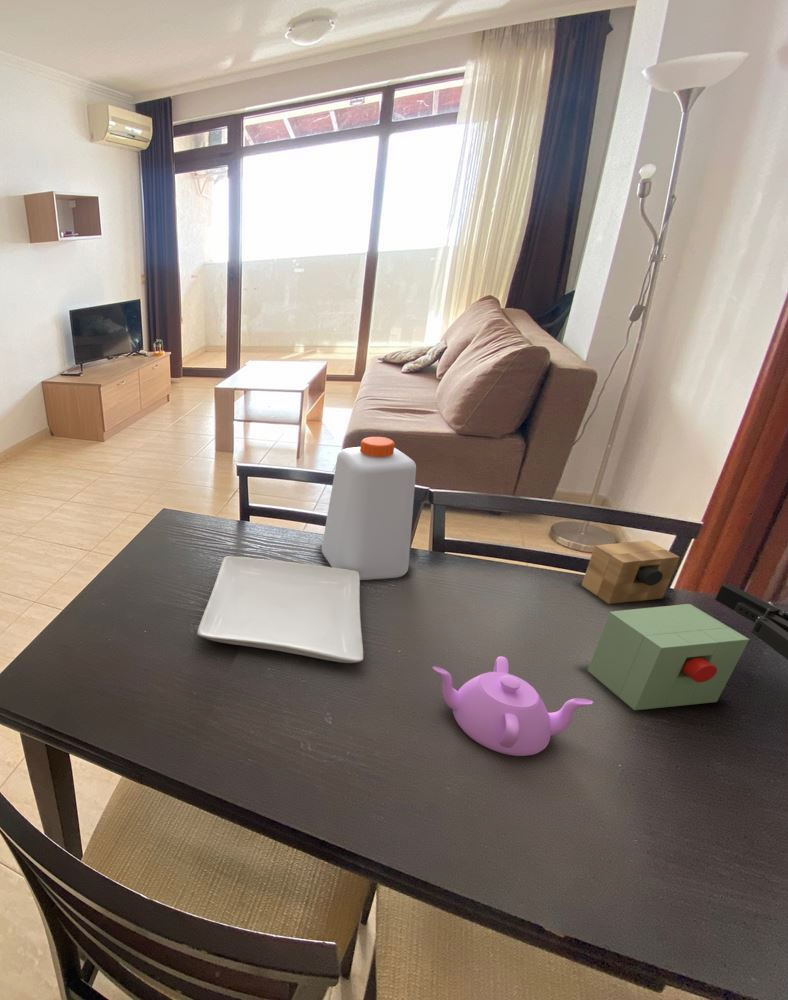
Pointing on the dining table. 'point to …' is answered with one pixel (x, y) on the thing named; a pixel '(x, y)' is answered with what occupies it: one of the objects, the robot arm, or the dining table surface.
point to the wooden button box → (628, 571)
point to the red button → (699, 670)
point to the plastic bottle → (371, 510)
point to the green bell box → (664, 655)
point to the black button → (649, 576)
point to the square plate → (286, 608)
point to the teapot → (505, 711)
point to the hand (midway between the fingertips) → (723, 592)
